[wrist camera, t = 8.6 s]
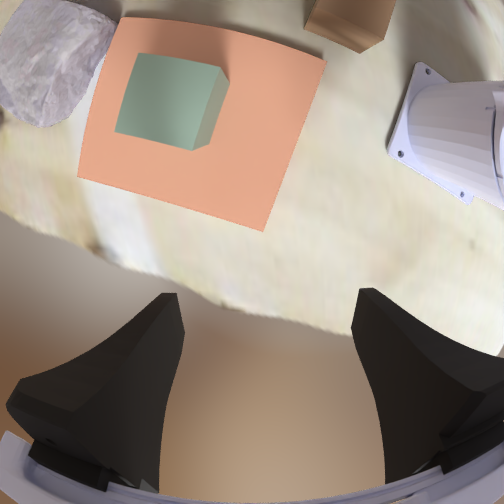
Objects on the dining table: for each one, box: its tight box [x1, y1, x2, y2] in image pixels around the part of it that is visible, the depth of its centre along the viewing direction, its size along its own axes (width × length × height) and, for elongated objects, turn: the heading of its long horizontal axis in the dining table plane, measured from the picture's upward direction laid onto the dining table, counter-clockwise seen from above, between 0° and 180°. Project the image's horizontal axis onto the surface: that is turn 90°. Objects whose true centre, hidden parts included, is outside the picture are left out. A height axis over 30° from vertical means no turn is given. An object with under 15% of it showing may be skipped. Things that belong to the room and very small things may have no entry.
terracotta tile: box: [77, 17, 327, 232], centre depth 15 cm, size 14×12×1 cm
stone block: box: [0, 0, 118, 127], centre depth 12 cm, size 12×5×10 cm
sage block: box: [114, 53, 230, 151], centre depth 13 cm, size 4×4×5 cm
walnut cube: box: [304, 0, 396, 54], centre depth 11 cm, size 4×4×4 cm
